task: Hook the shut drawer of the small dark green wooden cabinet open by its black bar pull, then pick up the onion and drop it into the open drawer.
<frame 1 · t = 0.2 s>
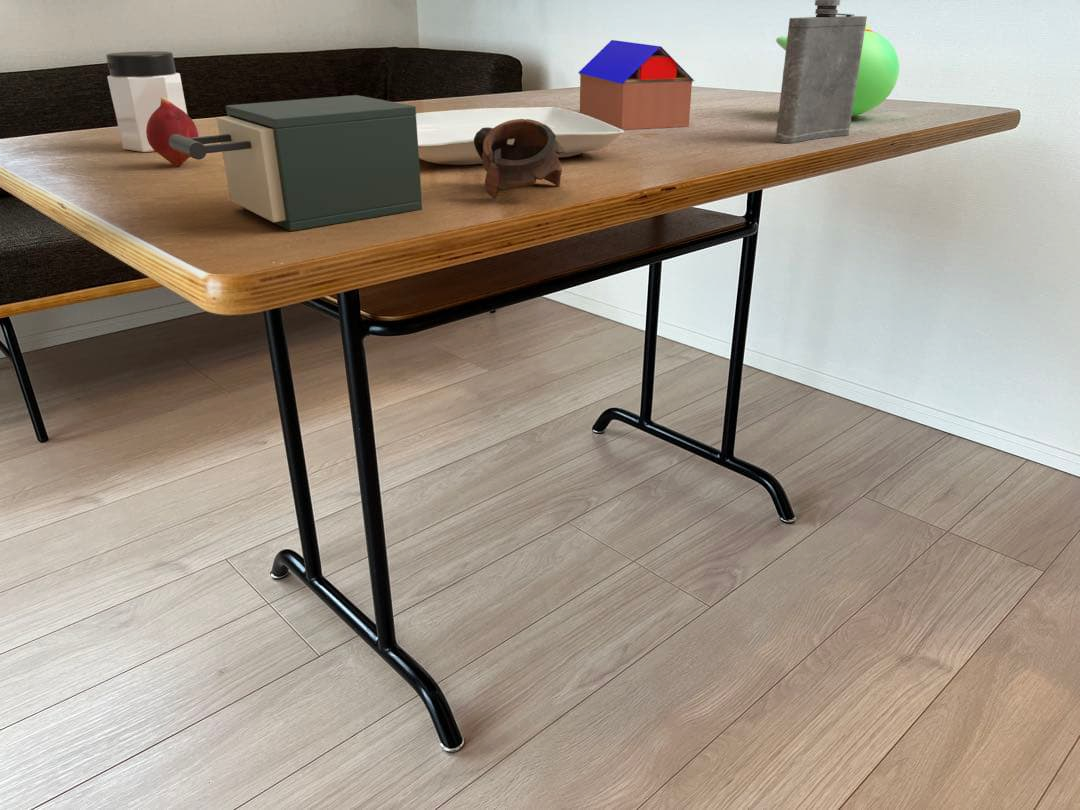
drawer: (282, 163, 77), point 5 cm above the table, slide at 0.0 cm, touching cabinet
square plate: (493, 150, 112), on the table
jar: (159, 148, 115), on the table
flask: (810, 138, 120), on the table
pottery mug: (516, 192, 89), on the table
toy bird: (831, 118, 139), on the table
onion: (179, 167, 103), on the table
cabinet: (331, 208, 82), on the table
house: (631, 121, 137), on the table
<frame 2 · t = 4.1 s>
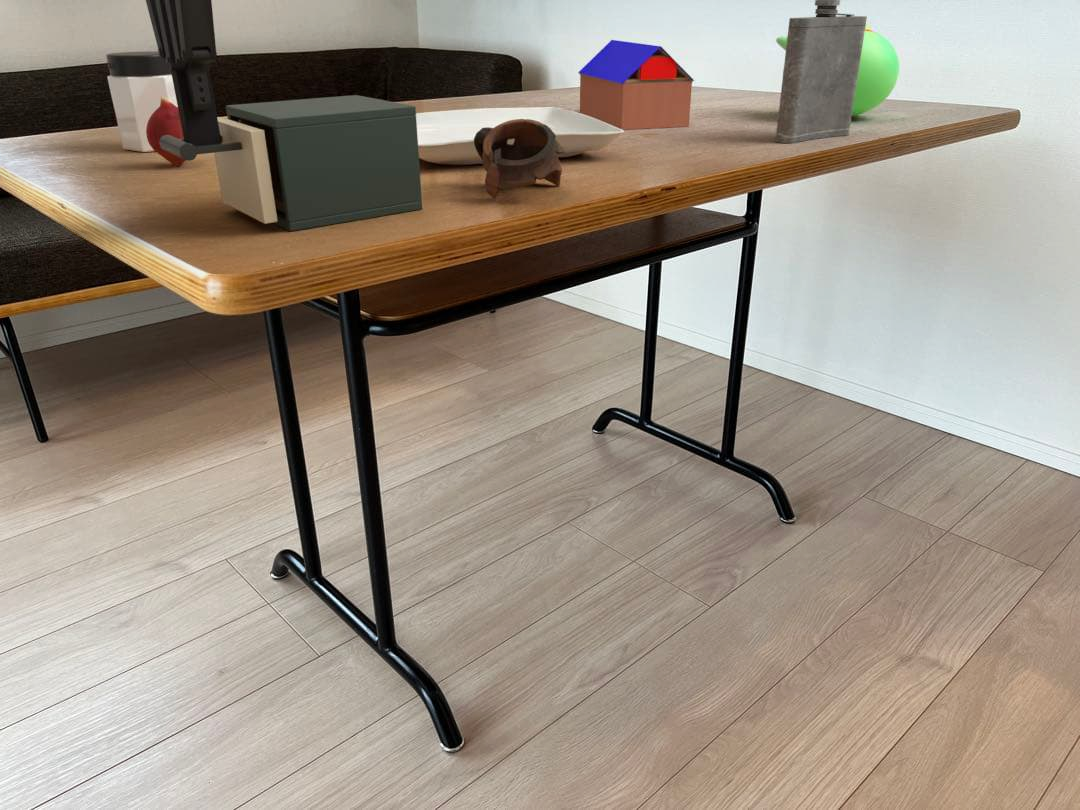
hand: (204, 148, 73), 7 cm above the table, tool pointing down, fingers closed
drawer: (273, 164, 77), point 5 cm above the table, slide at 0.8 cm
everything else where it was.
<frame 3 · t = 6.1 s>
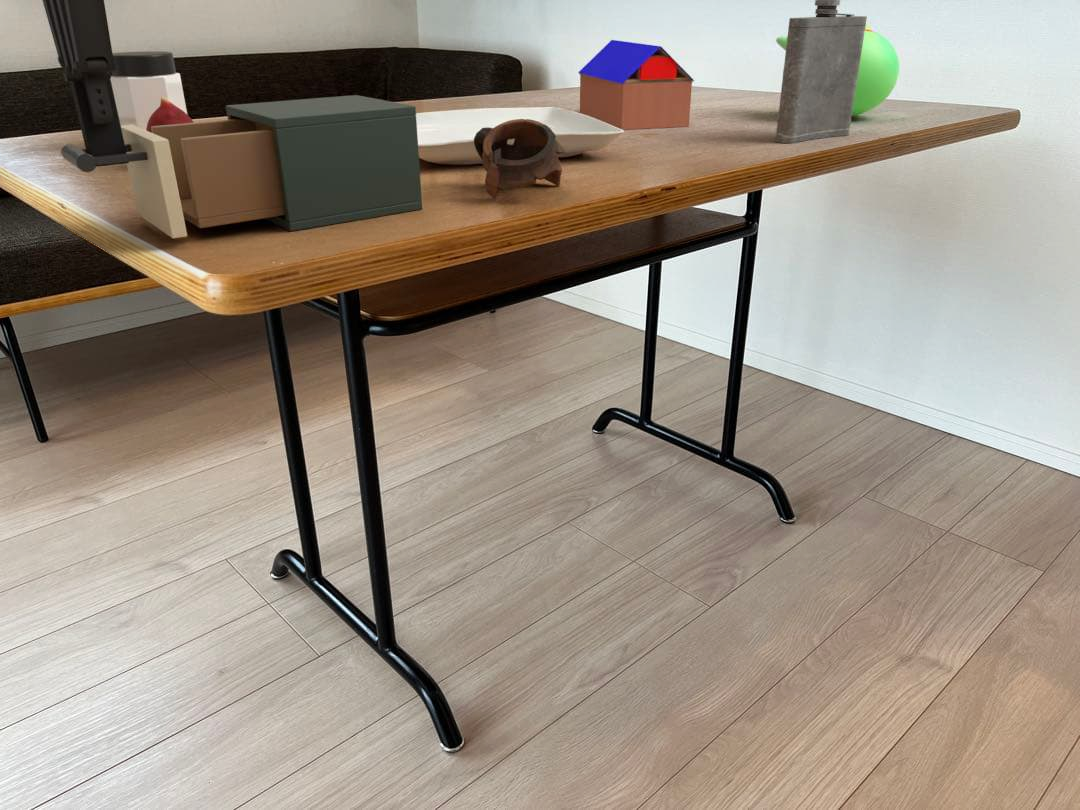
hand: (109, 163, 69), 6 cm above the table, tool pointing down, fingers closed
drawer: (187, 175, 73), point 5 cm above the table, slide at 8.6 cm, touching gripper
everything else where it was.
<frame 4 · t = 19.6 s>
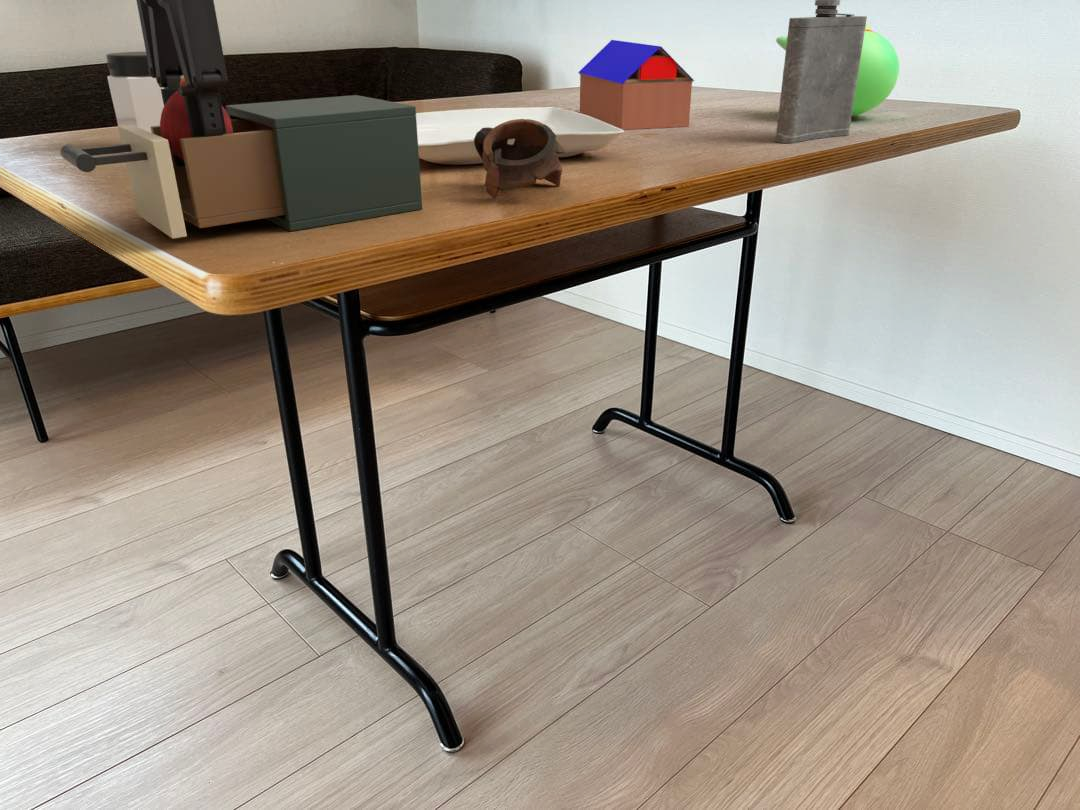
hand: (203, 168, 73), 5 cm above the table, tool pointing down, fingers closed on onion, 6 cm apart
onion: (205, 174, 74), point 5 cm above the table, touching gripper
everything else where it was.
when the fingers open (8 cm above the table, at t = 29.6 s): onion stays where it is, resting on drawer.
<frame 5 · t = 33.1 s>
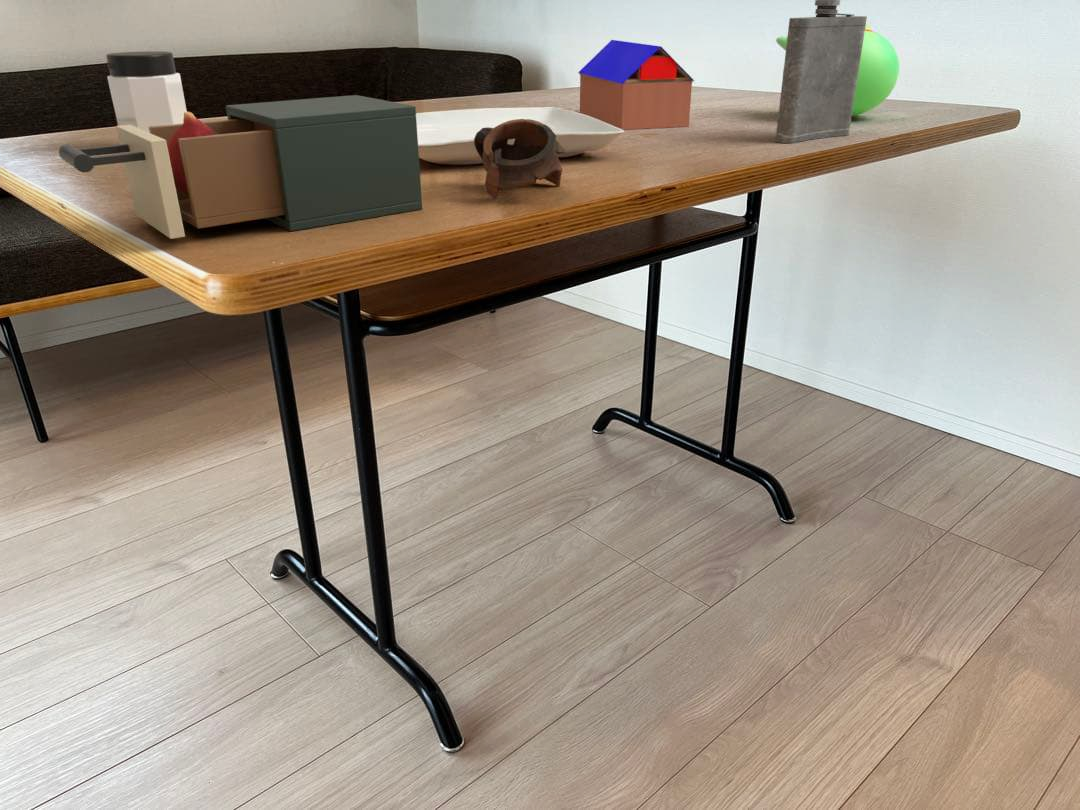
drawer: (185, 175, 73), point 5 cm above the table, slide at 8.8 cm, touching onion
onion: (208, 207, 75), point 2 cm above the table, touching drawer
everything else where it was.
at the end: drawer slide at 8.8 cm; onion inside the target area in the drawer (0.3 cm from its centre), point 1.8 cm above the cabinet's base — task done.
